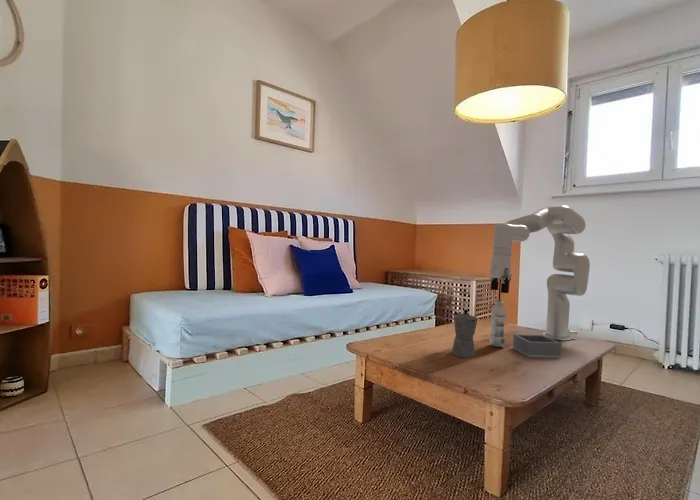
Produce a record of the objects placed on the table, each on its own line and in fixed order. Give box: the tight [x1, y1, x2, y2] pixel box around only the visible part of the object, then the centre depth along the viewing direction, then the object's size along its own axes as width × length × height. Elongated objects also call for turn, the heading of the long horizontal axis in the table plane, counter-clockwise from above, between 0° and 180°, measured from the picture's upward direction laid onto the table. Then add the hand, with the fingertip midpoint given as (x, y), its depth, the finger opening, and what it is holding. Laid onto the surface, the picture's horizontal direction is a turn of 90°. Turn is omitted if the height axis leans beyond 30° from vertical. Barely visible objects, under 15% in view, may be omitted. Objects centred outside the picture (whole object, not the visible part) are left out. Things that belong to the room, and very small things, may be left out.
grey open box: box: [512, 333, 562, 359], centre depth 156 cm, size 13×12×6 cm
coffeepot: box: [451, 308, 478, 359], centre depth 150 cm, size 15×9×18 cm, turn 12°
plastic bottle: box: [488, 299, 507, 348], centre depth 163 cm, size 6×7×20 cm
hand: (499, 291), depth 163 cm, fingers open, 9 cm apart
